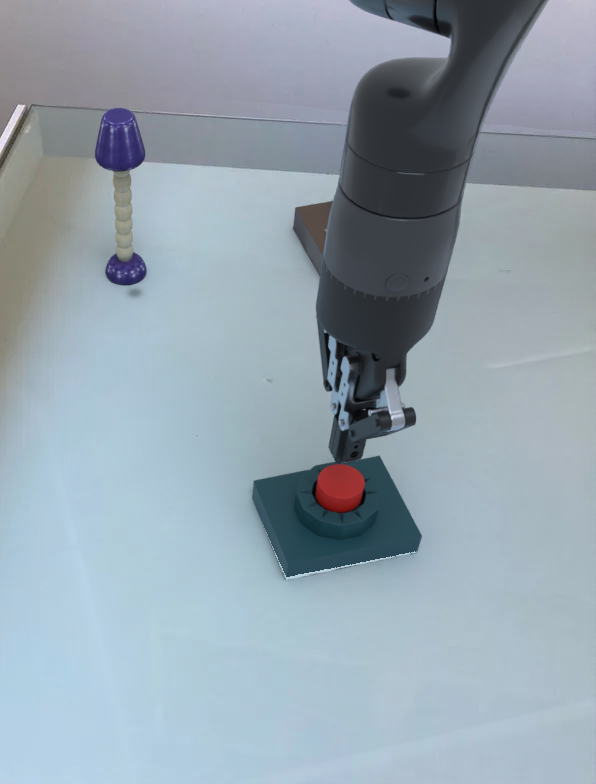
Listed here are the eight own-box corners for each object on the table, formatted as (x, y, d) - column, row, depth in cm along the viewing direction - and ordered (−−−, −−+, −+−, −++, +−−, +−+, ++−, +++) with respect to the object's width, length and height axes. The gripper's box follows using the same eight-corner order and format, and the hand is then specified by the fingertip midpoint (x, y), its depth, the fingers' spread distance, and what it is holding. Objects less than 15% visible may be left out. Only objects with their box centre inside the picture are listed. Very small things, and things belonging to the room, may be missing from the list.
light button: (351, 475, 77) (355, 460, 76) (368, 508, 75) (371, 493, 74) (309, 483, 77) (311, 468, 75) (324, 517, 75) (327, 502, 73)
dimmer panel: (398, 210, 104) (403, 187, 102) (435, 264, 98) (441, 241, 96) (292, 228, 103) (295, 205, 100) (324, 284, 97) (327, 261, 95)
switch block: (375, 473, 82) (383, 439, 79) (416, 553, 77) (427, 521, 74) (251, 498, 81) (254, 465, 77) (285, 581, 76) (290, 549, 72)
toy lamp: (157, 277, 98) (154, 117, 85) (119, 294, 97) (110, 134, 83) (131, 254, 101) (124, 94, 87) (94, 271, 99) (81, 111, 86)
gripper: (492, 311, 55) (426, 510, 69) (403, 184, 62) (360, 387, 76) (367, 333, 54) (326, 530, 68) (292, 202, 61) (270, 404, 75)
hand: (344, 454), depth 72 cm, fingers closed
